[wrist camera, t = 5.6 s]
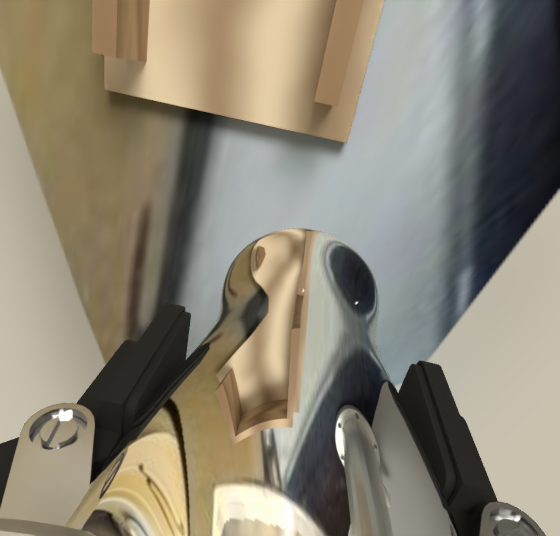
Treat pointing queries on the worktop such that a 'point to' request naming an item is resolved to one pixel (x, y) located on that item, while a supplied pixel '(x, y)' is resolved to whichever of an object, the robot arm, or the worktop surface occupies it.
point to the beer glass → (276, 416)
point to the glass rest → (242, 57)
